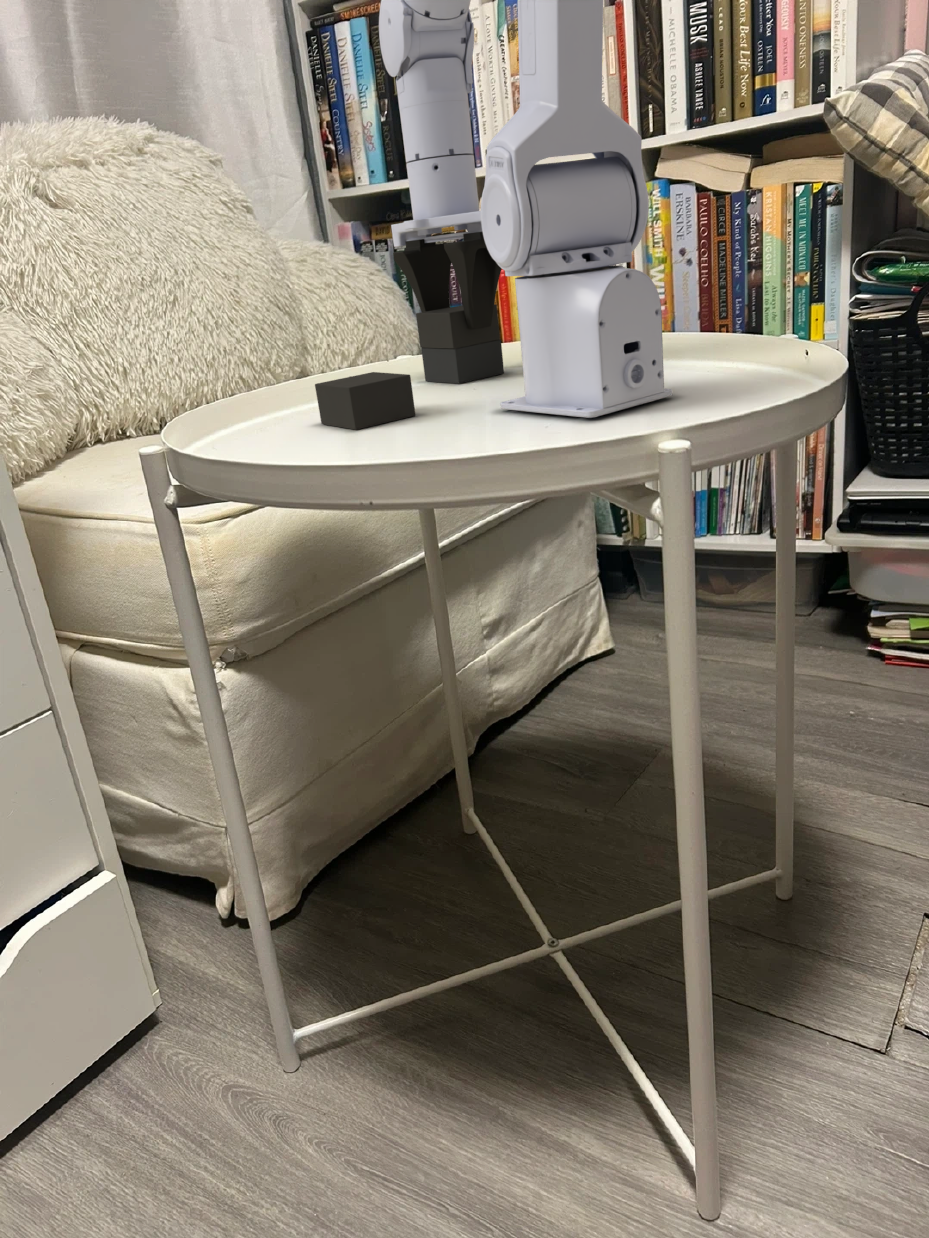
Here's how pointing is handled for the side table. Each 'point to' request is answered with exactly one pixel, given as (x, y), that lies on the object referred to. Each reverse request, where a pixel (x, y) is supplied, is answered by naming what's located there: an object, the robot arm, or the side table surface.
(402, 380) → the pad top
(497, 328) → the pad middle
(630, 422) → the side table surface
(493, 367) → the pad base
